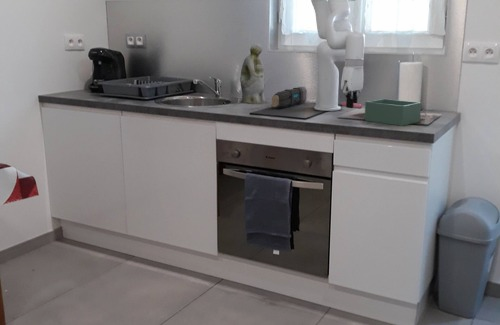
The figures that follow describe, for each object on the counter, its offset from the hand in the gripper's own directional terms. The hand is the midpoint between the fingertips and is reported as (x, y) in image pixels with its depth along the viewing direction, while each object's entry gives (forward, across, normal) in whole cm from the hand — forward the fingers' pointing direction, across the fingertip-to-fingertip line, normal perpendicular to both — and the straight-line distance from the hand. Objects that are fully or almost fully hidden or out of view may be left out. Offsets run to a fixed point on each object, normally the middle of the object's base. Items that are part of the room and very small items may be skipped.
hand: (351, 107), depth 222 cm
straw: (0, 0, 0) cm, 0 cm away
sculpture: (+7, -6, -67) cm, 68 cm away
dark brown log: (+7, -8, -43) cm, 44 cm away
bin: (+5, -6, +16) cm, 18 cm away
